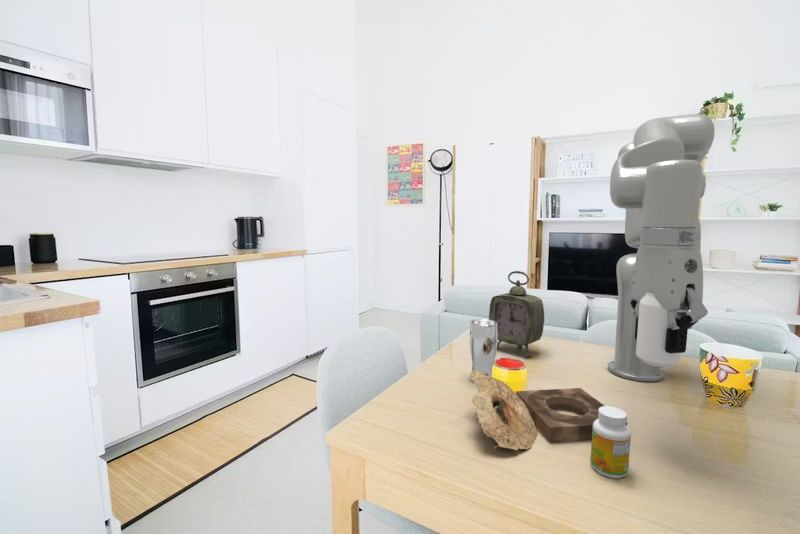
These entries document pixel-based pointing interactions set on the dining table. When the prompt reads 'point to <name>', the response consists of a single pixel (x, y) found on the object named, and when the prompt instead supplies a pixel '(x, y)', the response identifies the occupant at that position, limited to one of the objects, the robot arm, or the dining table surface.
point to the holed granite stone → (503, 413)
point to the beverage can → (654, 333)
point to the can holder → (558, 424)
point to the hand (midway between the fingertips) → (658, 344)
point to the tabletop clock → (518, 316)
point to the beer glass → (483, 345)
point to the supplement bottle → (610, 443)
